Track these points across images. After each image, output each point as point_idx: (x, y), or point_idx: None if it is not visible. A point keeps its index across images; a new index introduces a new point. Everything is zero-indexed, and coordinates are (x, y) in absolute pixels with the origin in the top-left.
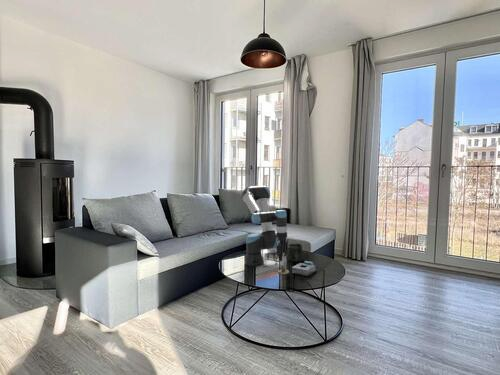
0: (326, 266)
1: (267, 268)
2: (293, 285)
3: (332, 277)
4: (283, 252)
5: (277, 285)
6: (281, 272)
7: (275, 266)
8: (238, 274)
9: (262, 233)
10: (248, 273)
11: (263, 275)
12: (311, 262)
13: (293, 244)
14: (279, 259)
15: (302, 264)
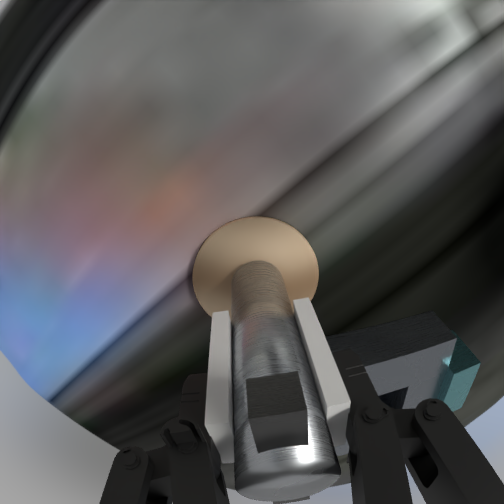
0: (487, 381)
1: (233, 42)
2: (121, 442)
3: (347, 475)
4: (328, 475)
5: (45, 389)
6: (214, 287)
7: (355, 75)
8: None
9: None
10: (4, 47)
11: (46, 188)
12: (453, 407)
13: None
14: (182, 392)
15: (418, 380)
